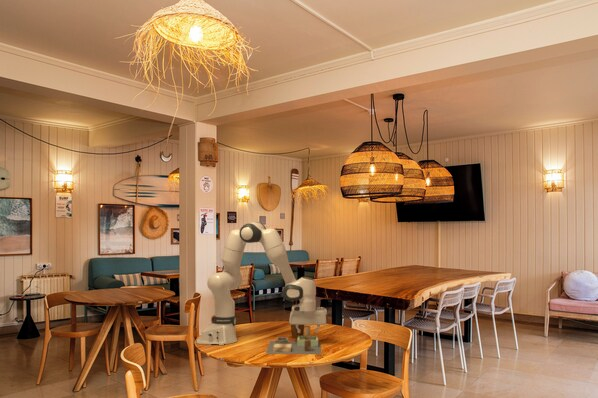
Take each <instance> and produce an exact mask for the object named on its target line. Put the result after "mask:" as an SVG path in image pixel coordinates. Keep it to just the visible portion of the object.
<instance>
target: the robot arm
mask: <svg viewBox="0 0 598 398" xmlns="http://www.w3.org/2000/svg"><path fill="white" fill-rule="evenodd" d="M247 243H248V244H251V243H252V244H253V243H261V245H262V247H263V249H264V252H265V255H266V257H267V258H268V260H269V261H270V263H271V264H273V265H275V266H276V267H277V268H278V270H279V272H280V274H281V276H282V278H283V281H284V284H285V286H284V287H283V289H282V296H283V298H284V299H285V300H286V301H289V302H294V301H299V303H297V304H293V305H292V307H291V311H290V313H289V321H288V324H290V326H291V325H296V328H297V330H298V333H300V329H299V328H298V325H305V326H310V325H311V326H313V325H314V326H317V328H316V329H315V330H314V334H319V333H318V332H319V329H320V328H321V326H325V325H327V315H328V310H327V308H325V307H324V306H321V307H320V306H317V300H316V295H317V287H316V280H315V279H314V278H312V277H309V276H301V277H300V278H299V279H297V278H296V276H295V273H294V272H293V270H292V268H291V265H290V262H289V258H288V255H287V253H288V252H287V250H286V246H285V244H284V242H283V240H282V237H281V236H280V234H279V232H278V231H277V229H276V228H272V227H269V228H266V226H265V225H264V224H263V223H262V222H260V221H258V222H257V221H252V222H249V223H244V225H242V226H241V227H240V229H232V230H231V231H230V232H229V233H228V237H227V239H226V242H225V244H224V248H223V251H222V255H221V262H222V264H223V270H222V271H220V272H215V273H214V274H211V275H210V276H209V277H208V279H207V283H206V284H207V288H208V289H209V290H210V292H211V293H212V296H213V300H214V314H213V315H212V316H211V319H210V320H211V321H210V323H209V324H208V325H207V326H206V327H205V328H203V329H202V331H201V332H200V333H201V334H200V337H199V338H197V339H196V344H198V345H211V344H219V345H218V346H224V344H225V345H228V344H235V343H236V342H238V338H237V335H236V334H237V333H236V319H237V318H236V315H235V313H236V312H235V311H236V305H235V304H236V302H235V300H234V299H233V298H232V294H231V291H232V290H236V289H237V288H239V287H241V285H242V284H243V275H242V274H241V262H242V259H243V255H244V252H245V248H246V245H247Z"/></svg>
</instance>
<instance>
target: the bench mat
mask: <svg viewBox="0 0 598 398" xmlns="http://www.w3.org/2000/svg"><path fill="white" fill-rule="evenodd" d="M274 344H276V340H275V341H273V340H270V341H269V344H268V346H267V349H266V351H265V354H266V355H322V345H321V344H322V343H321V341H318V347H311V351H305V347H297V340H296V341H291V340H290V341H289V340H288V344H292V346H291V352H273V347H274Z"/></svg>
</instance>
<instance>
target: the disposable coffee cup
mask: <svg viewBox="0 0 598 398" xmlns="http://www.w3.org/2000/svg"><path fill="white" fill-rule="evenodd" d="M305 326H306V325H298V328H299V329H300V333H298V330H297V328H296V325H291V324H290V331H291V333H290V334H291V338H292V339H294V340H295V339H296V340H297V339H298V336H304V335H305Z"/></svg>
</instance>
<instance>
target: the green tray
mask: <svg viewBox="0 0 598 398" xmlns="http://www.w3.org/2000/svg"><path fill="white" fill-rule="evenodd" d="M310 340H311V347H318V342H319V337H318V335H310ZM296 341H297V347H305V335H303V336H298V339H296Z"/></svg>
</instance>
